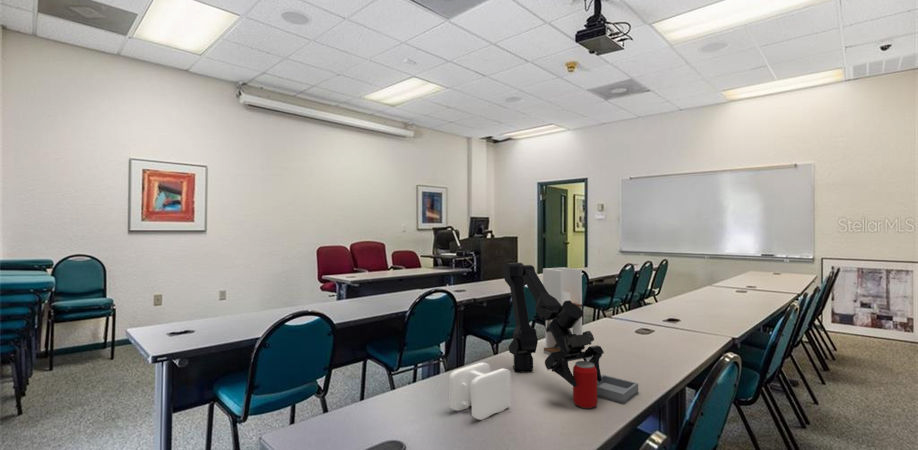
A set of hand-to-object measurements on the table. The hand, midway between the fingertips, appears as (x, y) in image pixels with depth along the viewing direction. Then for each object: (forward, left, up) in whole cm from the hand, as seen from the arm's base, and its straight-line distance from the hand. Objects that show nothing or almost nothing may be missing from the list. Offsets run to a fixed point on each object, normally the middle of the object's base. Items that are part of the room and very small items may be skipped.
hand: (588, 383), depth 121 cm
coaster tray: (+10, +10, -7) cm, 16 cm away
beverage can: (-1, +1, -7) cm, 7 cm away
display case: (+4, +50, -7) cm, 50 cm away
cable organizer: (-32, -2, -7) cm, 32 cm away
